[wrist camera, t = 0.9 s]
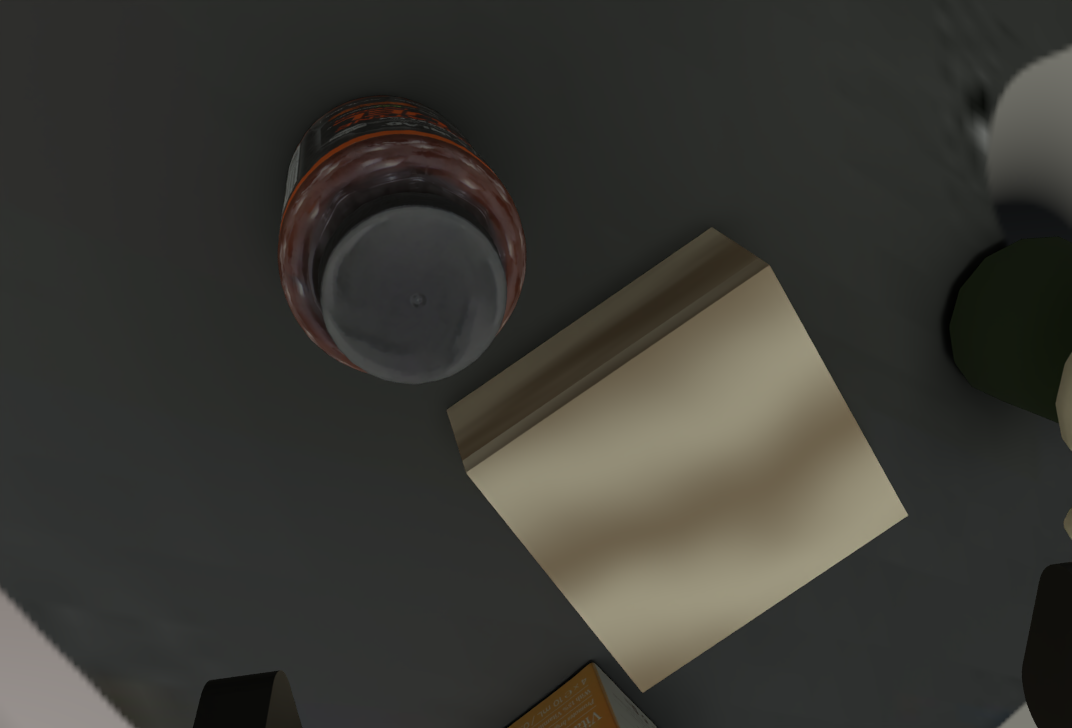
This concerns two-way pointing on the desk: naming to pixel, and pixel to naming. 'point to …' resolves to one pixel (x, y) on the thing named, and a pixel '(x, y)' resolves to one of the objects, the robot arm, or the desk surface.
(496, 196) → the supplement bottle
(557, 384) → the birch riser
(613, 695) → the small box
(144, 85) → the desk surface
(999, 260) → the character mug
